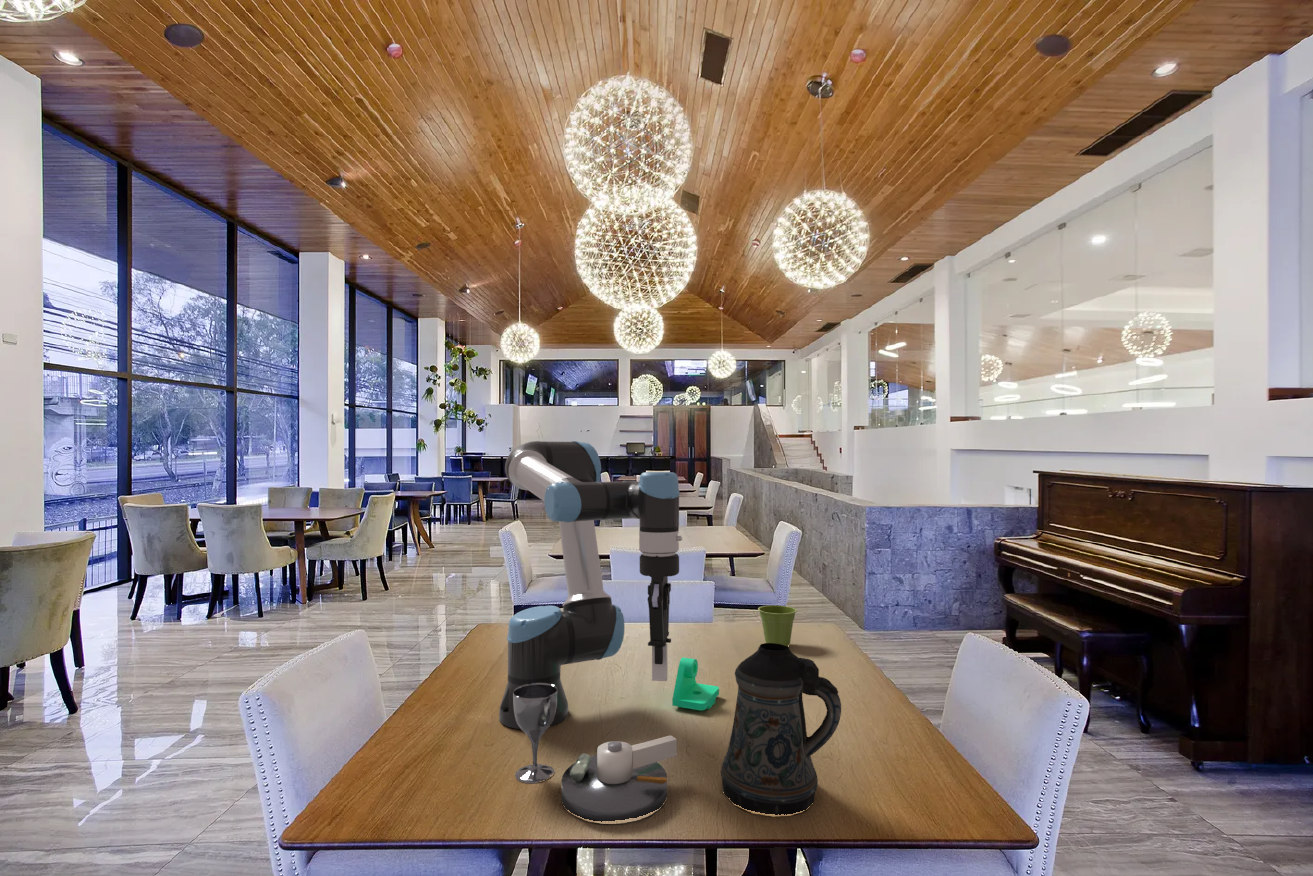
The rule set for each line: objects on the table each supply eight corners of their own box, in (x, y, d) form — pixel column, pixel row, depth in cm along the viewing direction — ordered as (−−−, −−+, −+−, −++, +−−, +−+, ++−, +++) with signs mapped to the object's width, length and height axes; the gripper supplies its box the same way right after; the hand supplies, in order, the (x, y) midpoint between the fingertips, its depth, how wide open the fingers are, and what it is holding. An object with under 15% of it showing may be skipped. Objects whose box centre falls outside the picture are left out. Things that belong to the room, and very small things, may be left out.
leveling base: (547, 819, 101) (547, 785, 101) (577, 766, 119) (578, 736, 119) (659, 829, 98) (659, 794, 99) (673, 773, 116) (673, 743, 116)
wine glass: (537, 759, 122) (538, 679, 122) (565, 772, 117) (566, 689, 117) (503, 775, 115) (504, 691, 116) (531, 789, 110) (532, 702, 111)
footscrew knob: (607, 787, 105) (607, 755, 105) (591, 772, 110) (591, 741, 110) (682, 764, 113) (682, 735, 113) (664, 751, 118) (664, 723, 118)
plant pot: (802, 644, 198) (802, 607, 198) (789, 654, 188) (788, 615, 188) (766, 638, 204) (766, 603, 205) (751, 647, 194) (751, 610, 195)
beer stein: (713, 770, 117) (713, 633, 118) (816, 767, 119) (815, 631, 120) (730, 821, 101) (730, 662, 102) (849, 816, 102) (848, 659, 103)
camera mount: (703, 716, 143) (703, 669, 143) (672, 710, 146) (672, 665, 146) (720, 697, 154) (720, 654, 154) (690, 693, 157) (690, 650, 157)
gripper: (674, 558, 114) (675, 692, 113) (682, 549, 126) (683, 669, 125) (633, 558, 115) (633, 690, 114) (645, 548, 128) (645, 667, 127)
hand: (659, 679), depth 120 cm, fingers closed
